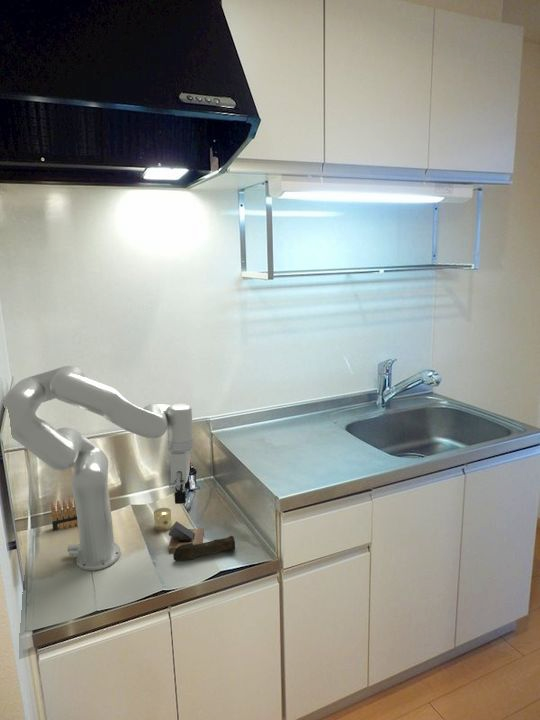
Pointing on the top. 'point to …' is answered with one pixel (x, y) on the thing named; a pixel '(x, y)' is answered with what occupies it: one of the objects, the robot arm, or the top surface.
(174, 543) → the bore block
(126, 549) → the top surface
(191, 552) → the dark brown log
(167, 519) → the olive gold rounded cube
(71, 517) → the ammunition clip
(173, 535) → the square bit
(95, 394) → the robot arm
